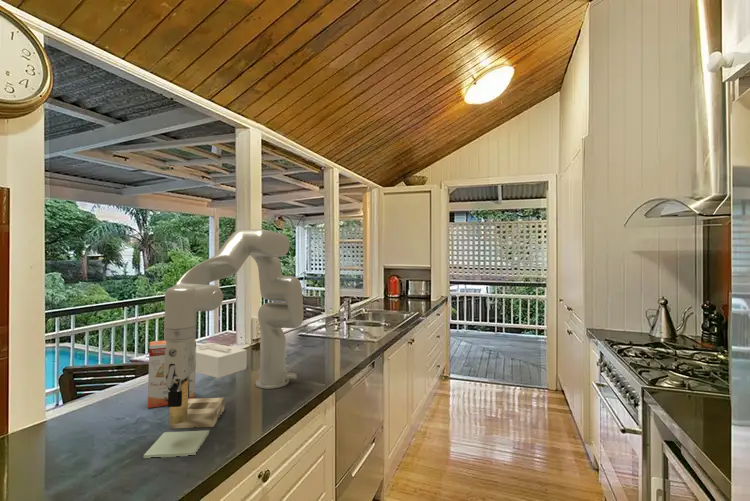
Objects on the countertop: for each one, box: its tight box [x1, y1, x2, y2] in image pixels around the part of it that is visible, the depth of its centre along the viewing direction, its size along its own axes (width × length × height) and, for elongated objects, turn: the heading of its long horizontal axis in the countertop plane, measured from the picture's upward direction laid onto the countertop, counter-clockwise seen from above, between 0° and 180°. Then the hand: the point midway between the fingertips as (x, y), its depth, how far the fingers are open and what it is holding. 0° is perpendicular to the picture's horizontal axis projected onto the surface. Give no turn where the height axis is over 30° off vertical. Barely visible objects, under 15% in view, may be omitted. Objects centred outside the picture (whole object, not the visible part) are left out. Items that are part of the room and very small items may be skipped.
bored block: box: [169, 397, 225, 429], centre depth 117 cm, size 12×12×4 cm
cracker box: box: [147, 339, 197, 409], centre depth 129 cm, size 14×6×21 cm, turn 117°
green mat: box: [143, 429, 210, 459], centre depth 101 cm, size 12×12×1 cm
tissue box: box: [195, 342, 248, 379], centre depth 167 cm, size 14×25×11 cm, turn 60°
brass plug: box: [168, 380, 188, 425], centre depth 101 cm, size 4×4×10 cm
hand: (178, 401), depth 101 cm, fingers closed on brass plug, 4 cm apart
